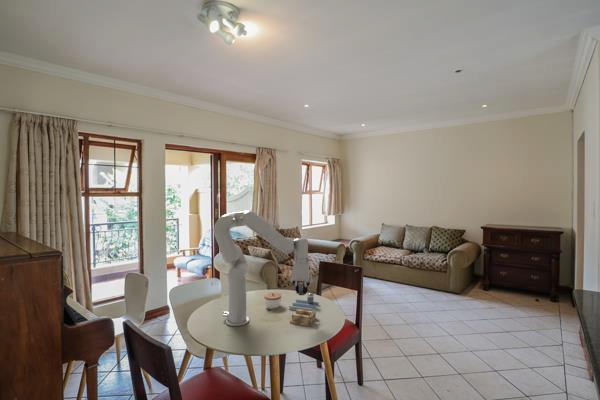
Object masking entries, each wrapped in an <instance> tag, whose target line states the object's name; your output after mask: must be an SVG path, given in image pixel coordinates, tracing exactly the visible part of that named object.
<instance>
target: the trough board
mask: <svg viewBox="0 0 600 400" xmlns="http://www.w3.org/2000/svg"><path fill="white" fill-rule="evenodd" d="M319 307H320V302H319V301H315V300H313V305H310V304H307V300H306V299H299V298H296V299H295V301H293V302H292V305H289V306H288V310H290V311H296V310H297V309H300V310H307V311H314V312H317V310H318V309H319Z"/></svg>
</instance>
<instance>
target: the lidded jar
mask: <svg viewBox="0 0 600 400" xmlns="http://www.w3.org/2000/svg"><path fill="white" fill-rule="evenodd" d="M263 297H264V298H263V301H264V305H265V307H266V308H267V309H268V310H270V309H273V310H274V309H277V308H279V307H280V305H281V303H282V294H281V293H278V292H268V293H265V294H264V296H263Z"/></svg>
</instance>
